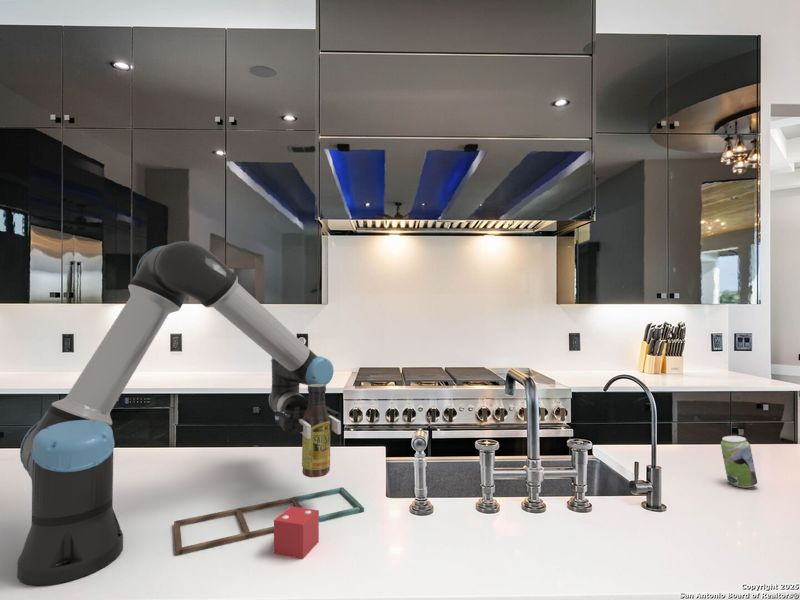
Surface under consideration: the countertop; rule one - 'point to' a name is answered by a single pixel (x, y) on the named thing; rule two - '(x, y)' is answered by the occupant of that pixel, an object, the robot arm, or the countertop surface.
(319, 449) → the sauce bottle
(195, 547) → the brown flat rectangular frame
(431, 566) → the countertop surface
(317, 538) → the red die
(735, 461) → the beverage can
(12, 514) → the countertop surface
